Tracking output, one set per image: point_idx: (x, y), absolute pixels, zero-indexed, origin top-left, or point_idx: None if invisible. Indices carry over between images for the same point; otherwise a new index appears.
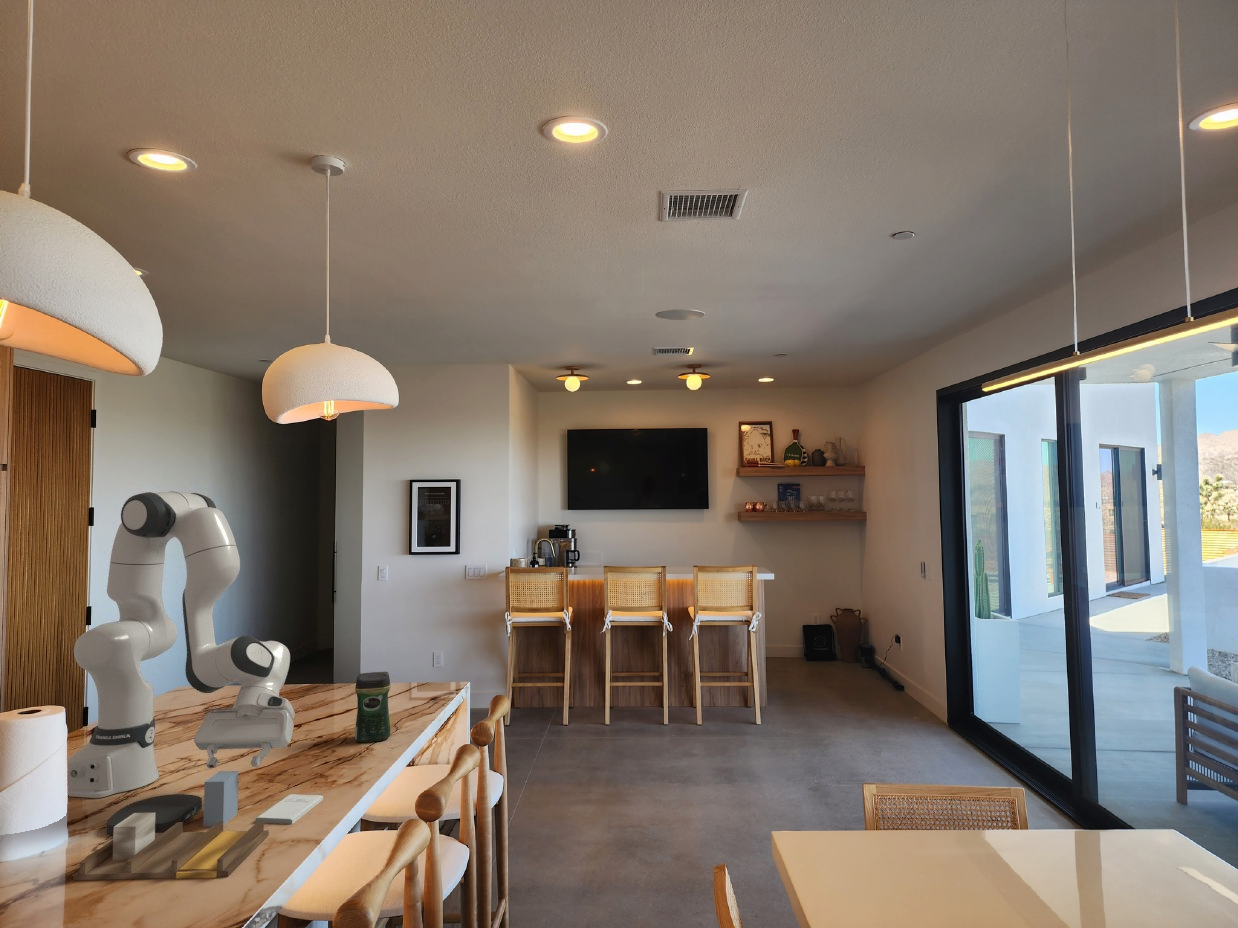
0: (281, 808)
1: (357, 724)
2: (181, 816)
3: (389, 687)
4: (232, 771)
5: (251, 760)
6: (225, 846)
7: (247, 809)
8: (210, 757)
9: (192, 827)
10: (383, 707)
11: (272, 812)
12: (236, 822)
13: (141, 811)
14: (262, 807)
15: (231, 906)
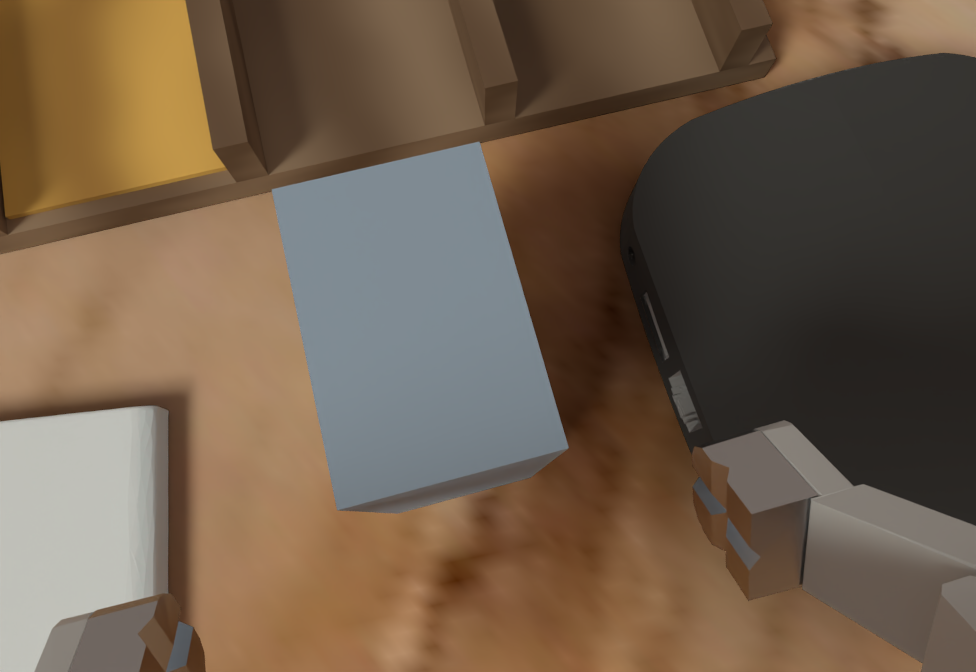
0: (44, 593)
1: None
2: (636, 241)
3: None
4: (400, 477)
5: (154, 622)
6: (79, 20)
7: (370, 592)
8: (822, 487)
9: (533, 261)
10: None
11: (73, 506)
12: (299, 381)
13: (954, 207)
14: (277, 653)
15: None
